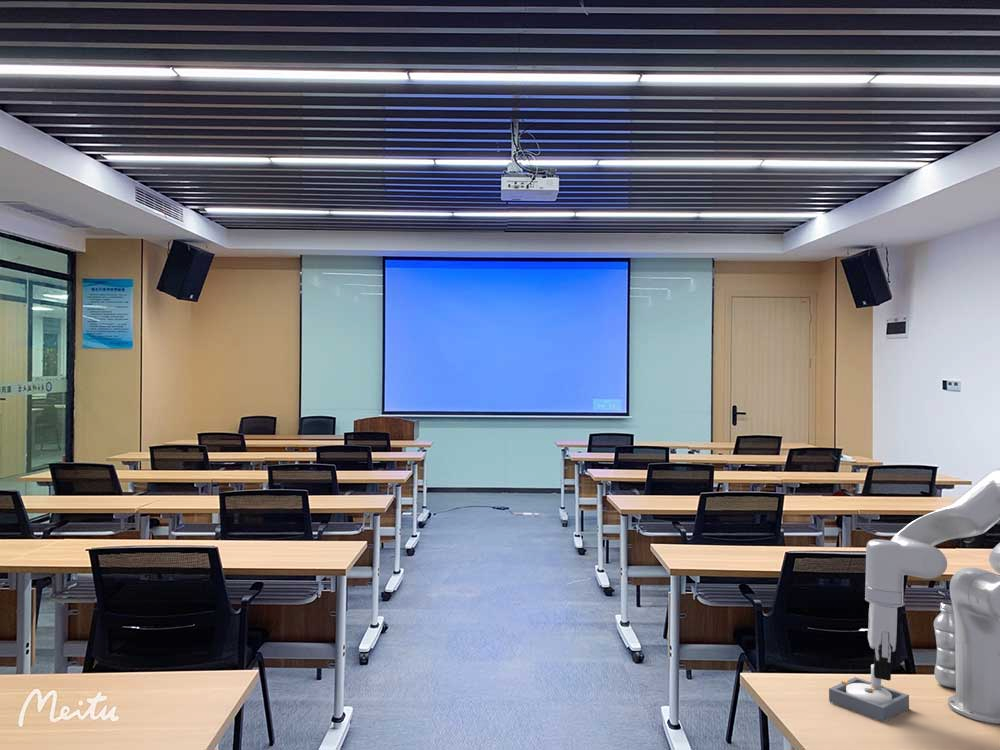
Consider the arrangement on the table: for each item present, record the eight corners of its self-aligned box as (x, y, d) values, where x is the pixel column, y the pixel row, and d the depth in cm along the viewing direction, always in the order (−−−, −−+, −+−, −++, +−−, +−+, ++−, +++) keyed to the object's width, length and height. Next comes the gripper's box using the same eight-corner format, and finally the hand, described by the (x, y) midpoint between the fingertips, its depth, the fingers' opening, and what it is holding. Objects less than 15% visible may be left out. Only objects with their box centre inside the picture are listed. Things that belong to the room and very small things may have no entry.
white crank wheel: (879, 711, 148) (879, 680, 148) (838, 696, 155) (838, 666, 156) (899, 701, 153) (899, 671, 153) (858, 687, 161) (858, 658, 161)
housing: (855, 689, 162) (855, 675, 163) (909, 708, 153) (908, 692, 153) (829, 701, 155) (829, 686, 156) (883, 722, 146) (883, 705, 146)
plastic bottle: (972, 693, 162) (971, 608, 162) (941, 690, 163) (939, 606, 164) (959, 682, 168) (958, 601, 169) (929, 679, 169) (928, 599, 170)
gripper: (862, 585, 161) (861, 663, 160) (867, 601, 148) (865, 686, 147) (899, 590, 158) (897, 670, 157) (907, 606, 145) (905, 694, 144)
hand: (882, 677), depth 152 cm, fingers closed
